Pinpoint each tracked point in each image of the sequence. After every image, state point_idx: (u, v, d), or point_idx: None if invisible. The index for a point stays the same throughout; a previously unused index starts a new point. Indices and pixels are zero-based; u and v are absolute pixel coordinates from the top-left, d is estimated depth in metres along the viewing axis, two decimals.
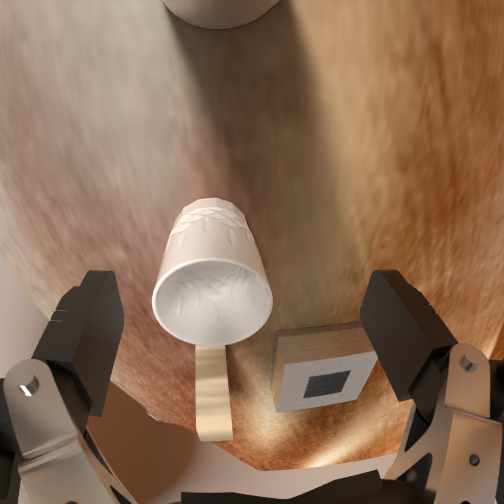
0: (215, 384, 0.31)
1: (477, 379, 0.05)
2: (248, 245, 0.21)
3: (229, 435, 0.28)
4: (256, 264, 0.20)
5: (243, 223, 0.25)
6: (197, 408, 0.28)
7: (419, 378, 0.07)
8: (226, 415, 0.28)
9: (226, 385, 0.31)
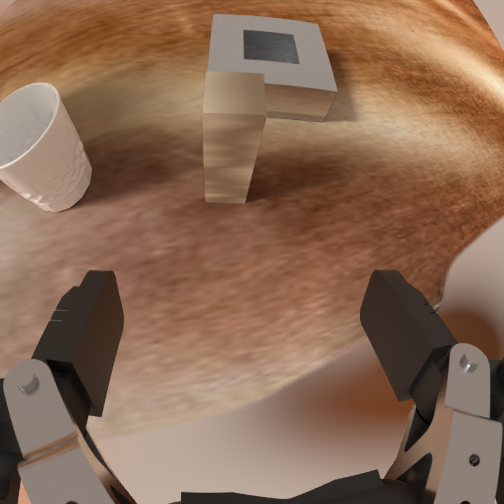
0: None
1: (477, 379, 0.05)
2: (15, 121, 0.19)
3: (241, 75, 0.16)
4: None
5: None
6: None
7: (419, 378, 0.07)
8: None
9: None
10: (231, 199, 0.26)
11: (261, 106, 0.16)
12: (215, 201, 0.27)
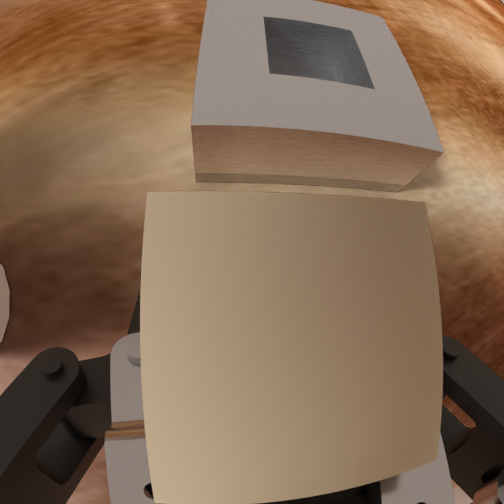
0: None
1: None
2: None
3: (339, 221, 0.03)
4: None
5: None
6: None
7: None
8: None
9: None
10: None
11: (425, 423, 0.03)
12: None
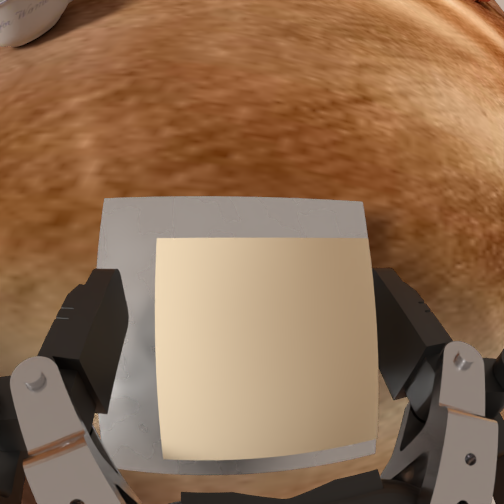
0: None
1: (471, 377, 0.05)
2: None
3: (294, 257, 0.05)
4: None
5: None
6: None
7: (413, 376, 0.07)
8: None
9: None
10: None
11: (364, 407, 0.04)
12: None
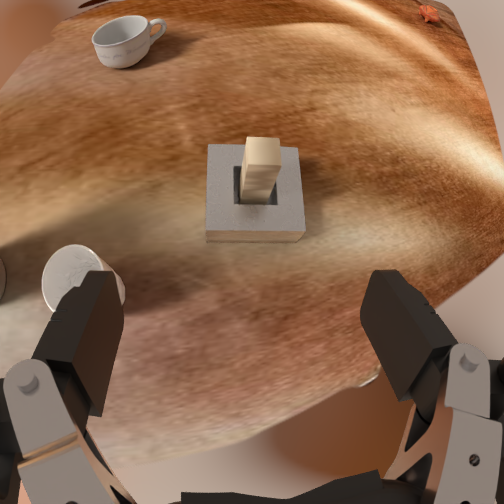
0: (242, 171, 0.36)
1: (477, 379, 0.05)
2: None
3: (267, 140, 0.31)
4: None
5: None
6: (245, 174, 0.33)
7: (419, 378, 0.07)
8: (245, 147, 0.32)
9: (243, 162, 0.36)
10: None
11: (278, 160, 0.31)
12: None
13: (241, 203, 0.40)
